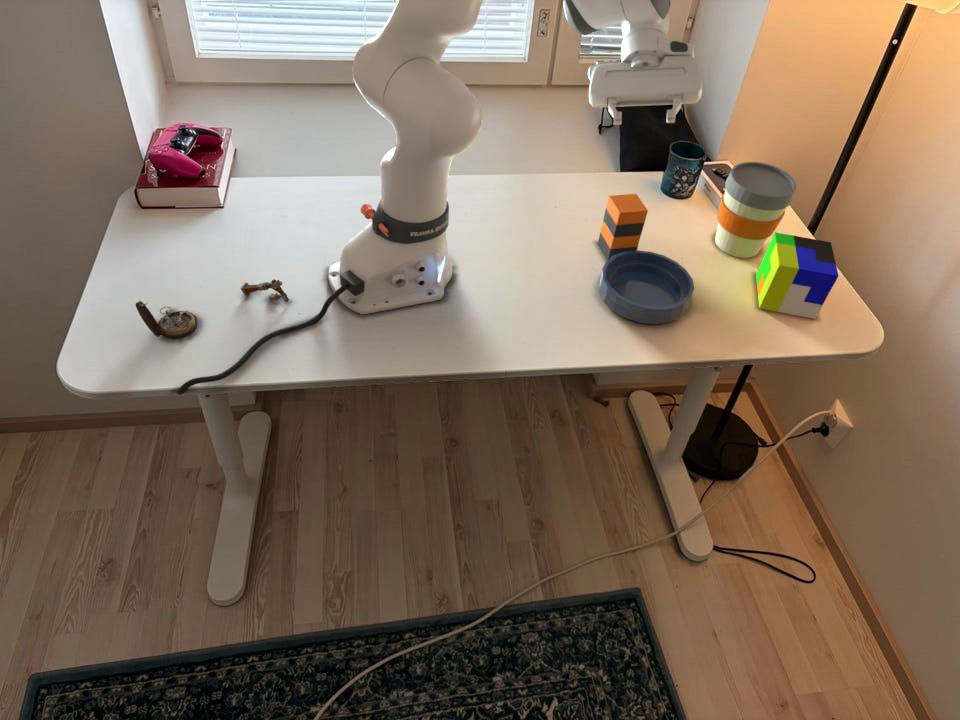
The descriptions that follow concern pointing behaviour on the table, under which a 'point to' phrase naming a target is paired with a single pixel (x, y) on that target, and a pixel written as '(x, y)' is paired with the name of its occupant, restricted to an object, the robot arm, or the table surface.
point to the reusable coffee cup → (752, 207)
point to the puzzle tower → (622, 224)
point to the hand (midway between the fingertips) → (644, 122)
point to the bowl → (645, 287)
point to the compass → (169, 322)
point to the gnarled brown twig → (265, 286)
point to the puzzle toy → (796, 275)
